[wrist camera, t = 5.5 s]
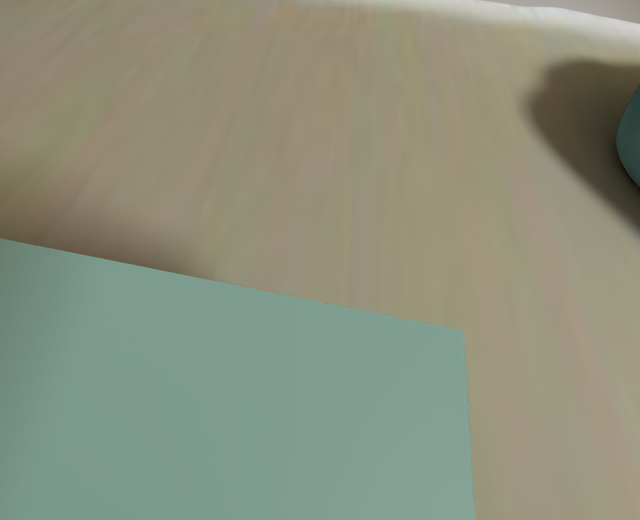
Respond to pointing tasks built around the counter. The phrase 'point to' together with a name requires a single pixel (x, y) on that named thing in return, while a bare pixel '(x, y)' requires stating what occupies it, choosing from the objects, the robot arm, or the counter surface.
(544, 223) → the counter surface
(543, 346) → the counter surface
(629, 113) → the casserole dish
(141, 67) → the counter surface
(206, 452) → the teal block
